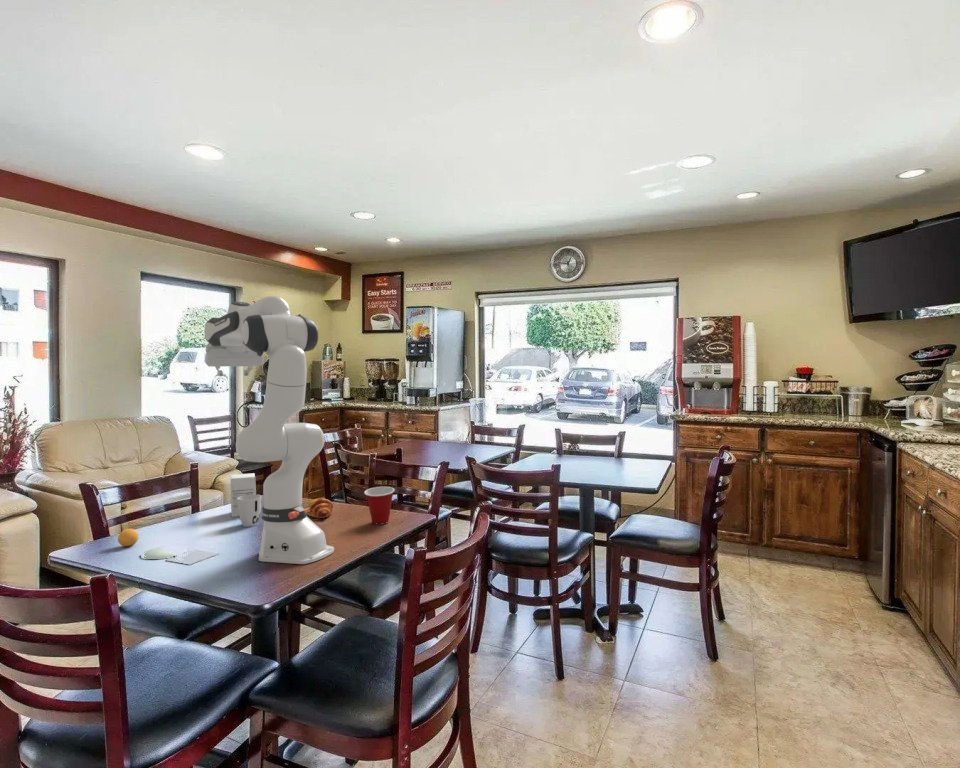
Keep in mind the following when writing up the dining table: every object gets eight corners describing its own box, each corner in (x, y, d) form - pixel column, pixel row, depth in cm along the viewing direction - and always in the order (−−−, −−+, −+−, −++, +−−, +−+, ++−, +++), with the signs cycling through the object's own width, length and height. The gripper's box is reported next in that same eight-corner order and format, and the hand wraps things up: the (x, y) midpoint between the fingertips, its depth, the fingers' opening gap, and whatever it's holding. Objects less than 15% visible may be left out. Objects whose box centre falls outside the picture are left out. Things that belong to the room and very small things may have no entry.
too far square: (218, 554, 163) (218, 553, 163) (189, 565, 154) (189, 564, 154) (195, 550, 167) (195, 549, 167) (165, 560, 158) (165, 560, 158)
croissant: (306, 518, 217) (296, 501, 215) (328, 503, 221) (318, 487, 219) (318, 530, 198) (307, 512, 196) (342, 513, 203) (331, 496, 201)
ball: (142, 544, 173) (142, 527, 173) (125, 549, 168) (125, 532, 168) (131, 542, 176) (130, 525, 175) (114, 547, 170) (113, 530, 170)
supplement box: (231, 512, 214) (230, 474, 214) (255, 509, 217) (255, 472, 217) (230, 517, 205) (229, 478, 205) (256, 514, 209) (255, 476, 209)
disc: (198, 548, 168) (198, 548, 168) (159, 562, 157) (159, 561, 157) (169, 543, 174) (169, 543, 174) (129, 556, 162) (129, 556, 162)
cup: (256, 527, 191) (255, 499, 191) (233, 527, 191) (233, 499, 191) (265, 521, 199) (265, 494, 199) (244, 521, 199) (243, 494, 199)
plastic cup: (358, 525, 192) (358, 492, 192) (374, 517, 202) (373, 485, 202) (386, 527, 189) (385, 493, 188) (400, 519, 199) (399, 487, 199)
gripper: (208, 346, 193) (205, 379, 199) (266, 346, 206) (262, 378, 212) (204, 338, 198) (201, 371, 203) (262, 339, 210) (258, 371, 216)
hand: (233, 375), depth 207 cm, fingers open, 8 cm apart
